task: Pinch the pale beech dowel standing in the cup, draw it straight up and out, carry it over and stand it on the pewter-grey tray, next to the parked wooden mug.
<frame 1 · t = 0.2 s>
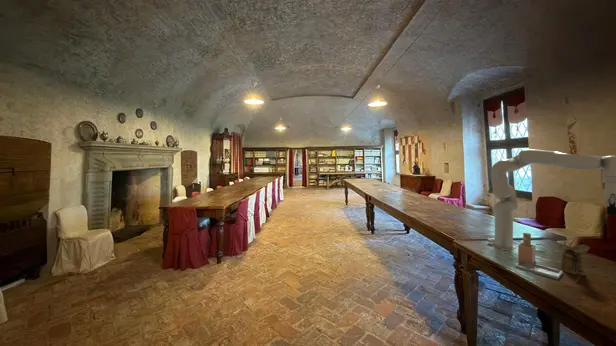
hand: (613, 213, 117), 31 cm above the table, fingers open, 9 cm apart
tray: (538, 271, 121), on the table
wooden mug: (574, 274, 118), on the table
dowel: (526, 260, 132), point 1 cm above the table, touching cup
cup: (526, 262, 132), on the table
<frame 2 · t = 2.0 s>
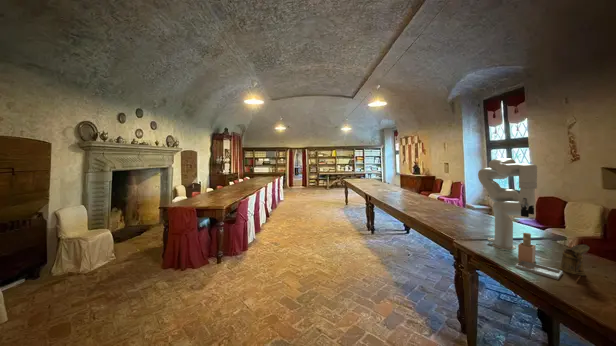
hand: (527, 215, 131), 28 cm above the table, fingers open, 9 cm apart
nothing on the table moved.
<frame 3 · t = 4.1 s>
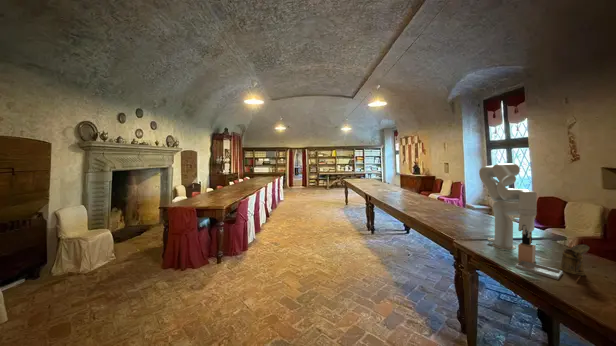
hand: (526, 243, 132), 11 cm above the table, fingers closed on dowel, 3 cm apart
dowel: (526, 260, 132), point 1 cm above the table, touching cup, gripper
everything else where it was.
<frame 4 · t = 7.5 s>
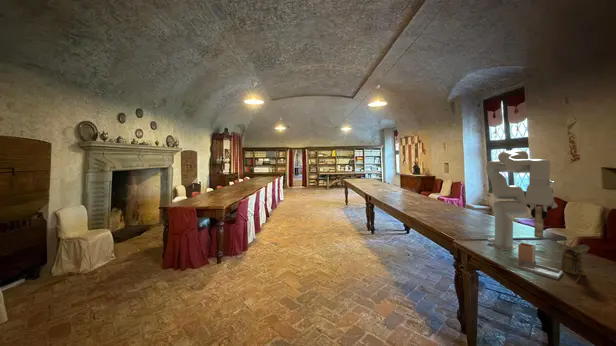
hand: (538, 217, 120), 29 cm above the table, fingers closed on dowel, 3 cm apart
dowel: (538, 237, 120), point 19 cm above the table, touching gripper
everything else where it was.
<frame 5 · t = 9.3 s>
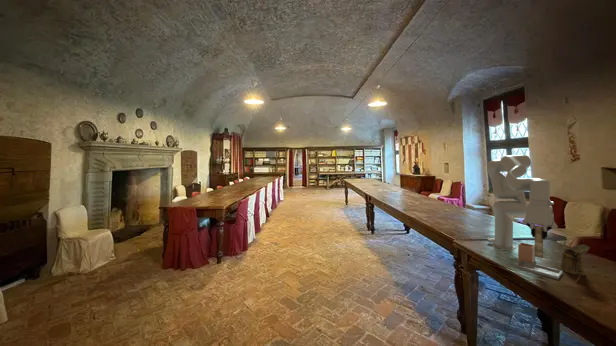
hand: (538, 237, 120), 19 cm above the table, fingers closed on dowel, 3 cm apart
dowel: (538, 256, 120), point 8 cm above the table, touching gripper
everything else where it was.
when the fingers open (12 cm above the table, at t = 10.8 s): dowel stays where it is, resting on tray.
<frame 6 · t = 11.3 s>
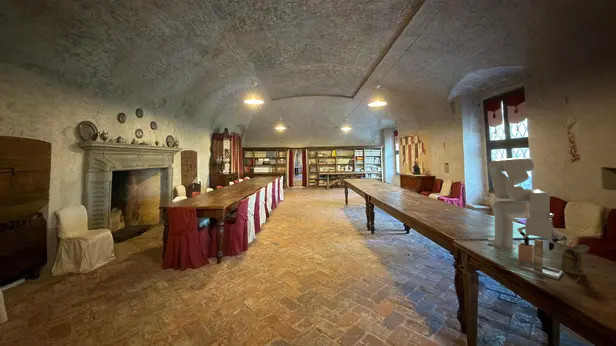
hand: (538, 247, 120), 13 cm above the table, fingers open, 8 cm apart
dowel: (538, 269, 121), point 1 cm above the table, touching tray
everything else where it was.
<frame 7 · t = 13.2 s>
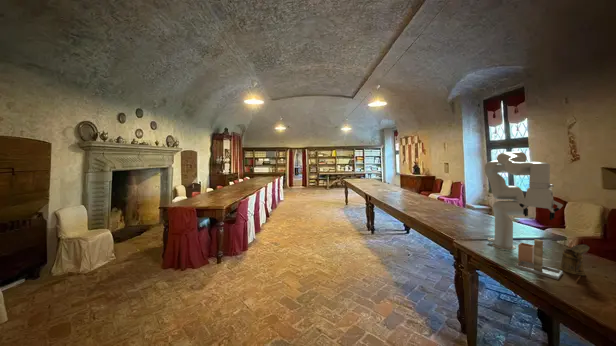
hand: (538, 217, 122), 28 cm above the table, fingers open, 9 cm apart
nothing on the table moved.
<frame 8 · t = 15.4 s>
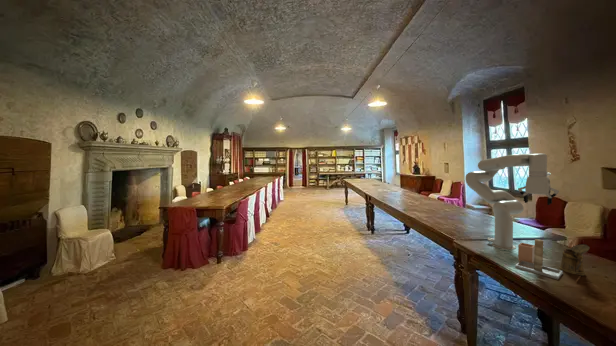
hand: (537, 203, 135), 33 cm above the table, fingers open, 9 cm apart
nothing on the table moved.
at the end: dowel inside the target area on the tray (0.1 cm from its centre), point 1.0 cm above the tray's base; dowel tilted 1°; the gripper is holding nothing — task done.
